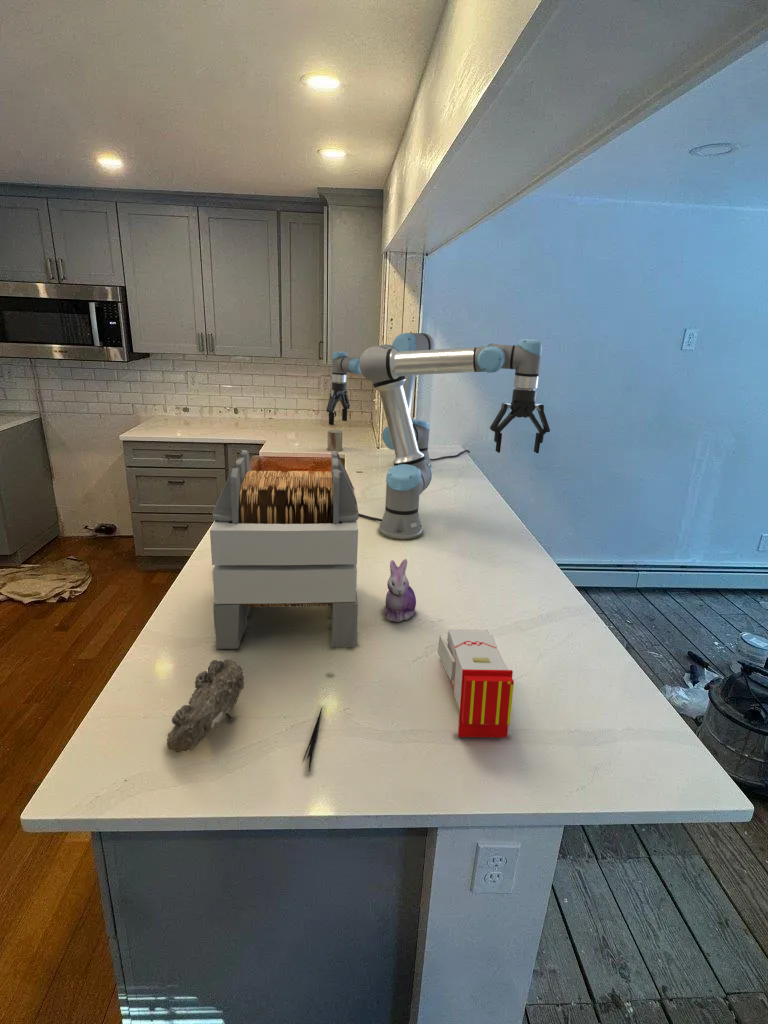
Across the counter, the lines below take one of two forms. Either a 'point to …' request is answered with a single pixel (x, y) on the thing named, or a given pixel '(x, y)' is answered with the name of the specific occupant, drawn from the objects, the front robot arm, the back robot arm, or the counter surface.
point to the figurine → (399, 594)
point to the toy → (478, 682)
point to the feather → (313, 740)
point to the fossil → (206, 705)
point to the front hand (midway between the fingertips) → (517, 452)
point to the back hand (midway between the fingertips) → (338, 422)
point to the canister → (334, 440)
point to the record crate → (285, 547)
